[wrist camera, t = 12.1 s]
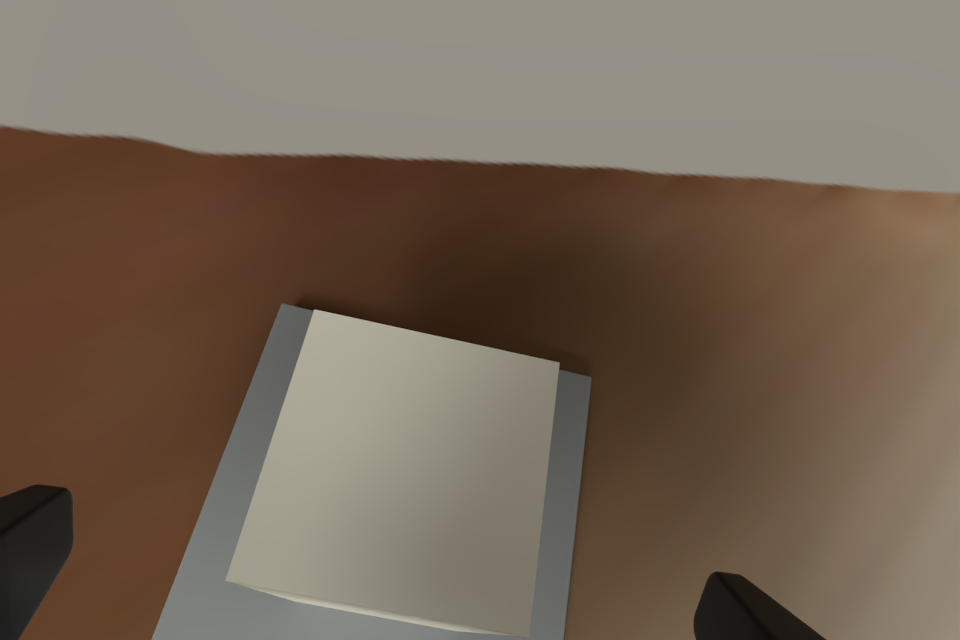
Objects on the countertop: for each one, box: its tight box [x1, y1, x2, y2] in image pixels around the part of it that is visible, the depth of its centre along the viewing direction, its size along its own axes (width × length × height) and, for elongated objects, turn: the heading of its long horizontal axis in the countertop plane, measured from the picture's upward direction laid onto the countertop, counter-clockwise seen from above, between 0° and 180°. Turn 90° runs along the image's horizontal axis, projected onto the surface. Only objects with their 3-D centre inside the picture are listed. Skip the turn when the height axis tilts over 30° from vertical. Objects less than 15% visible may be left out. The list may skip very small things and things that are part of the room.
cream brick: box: [225, 309, 560, 637], centre depth 16 cm, size 5×5×10 cm
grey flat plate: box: [152, 304, 592, 640], centre depth 21 cm, size 12×14×1 cm
